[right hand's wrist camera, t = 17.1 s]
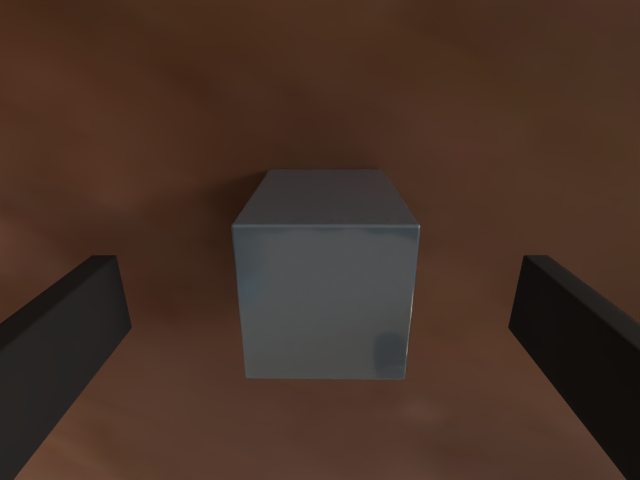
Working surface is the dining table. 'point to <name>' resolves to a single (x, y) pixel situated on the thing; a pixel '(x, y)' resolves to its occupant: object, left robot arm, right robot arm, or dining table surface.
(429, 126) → the dining table surface
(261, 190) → the block
